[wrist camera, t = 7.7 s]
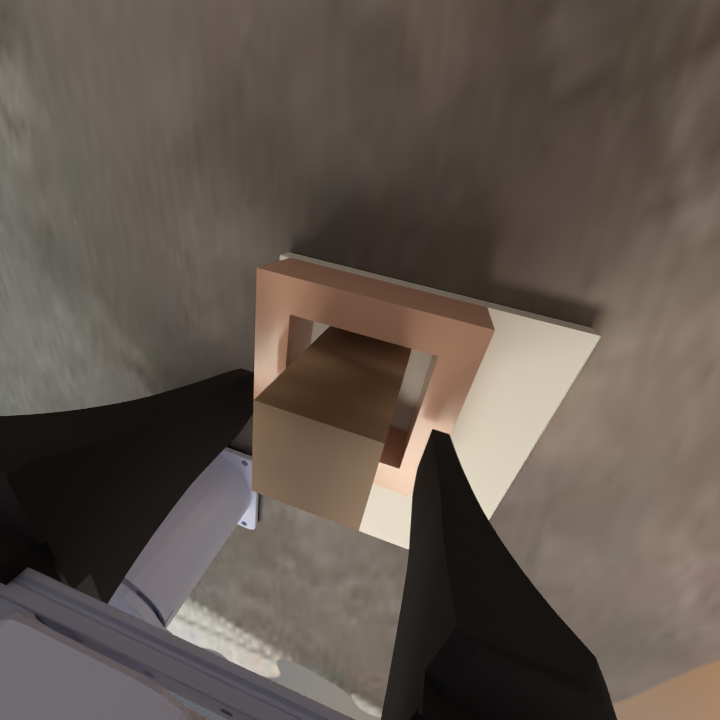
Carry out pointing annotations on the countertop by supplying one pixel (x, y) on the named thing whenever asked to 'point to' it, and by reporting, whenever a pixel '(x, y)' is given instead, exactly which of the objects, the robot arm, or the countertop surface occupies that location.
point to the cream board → (485, 402)
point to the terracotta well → (380, 321)
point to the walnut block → (327, 424)
